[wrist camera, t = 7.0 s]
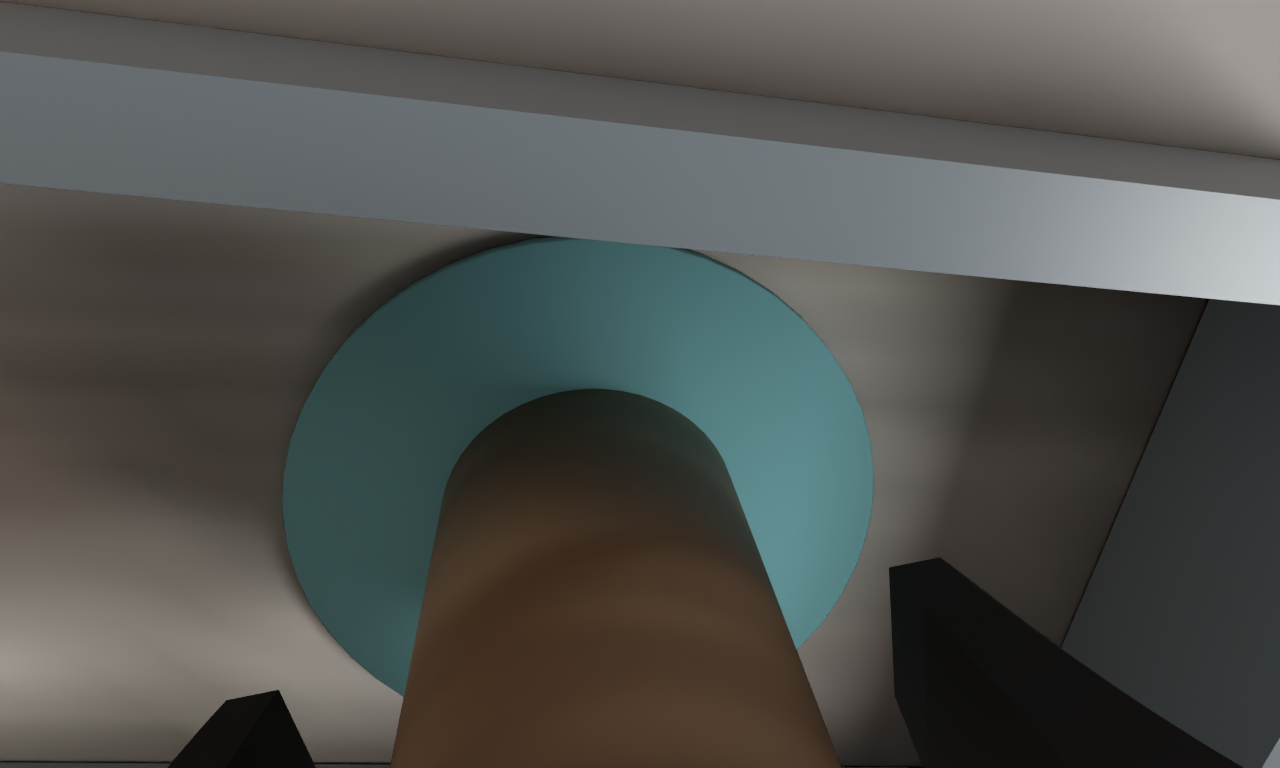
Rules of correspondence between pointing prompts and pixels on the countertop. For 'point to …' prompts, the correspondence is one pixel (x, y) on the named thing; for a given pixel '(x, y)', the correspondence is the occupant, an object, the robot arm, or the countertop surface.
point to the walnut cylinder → (601, 605)
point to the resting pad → (556, 362)
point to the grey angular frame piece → (754, 225)
